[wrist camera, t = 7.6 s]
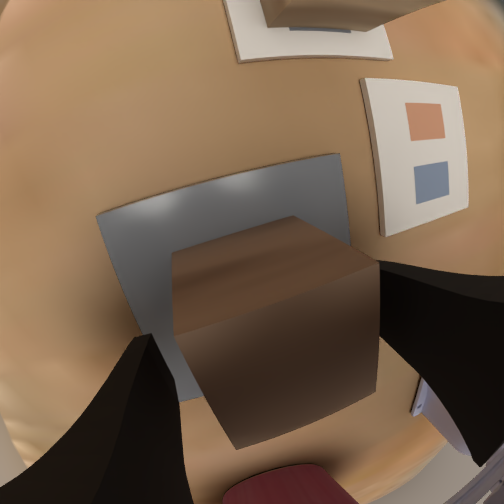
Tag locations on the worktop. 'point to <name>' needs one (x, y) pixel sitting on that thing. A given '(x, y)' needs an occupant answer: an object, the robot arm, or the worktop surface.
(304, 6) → the oak block
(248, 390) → the walnut block
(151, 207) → the slate coaster
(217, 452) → the worktop surface
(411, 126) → the code tile
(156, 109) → the worktop surface
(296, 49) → the code tile
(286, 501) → the plant pot
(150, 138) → the worktop surface
